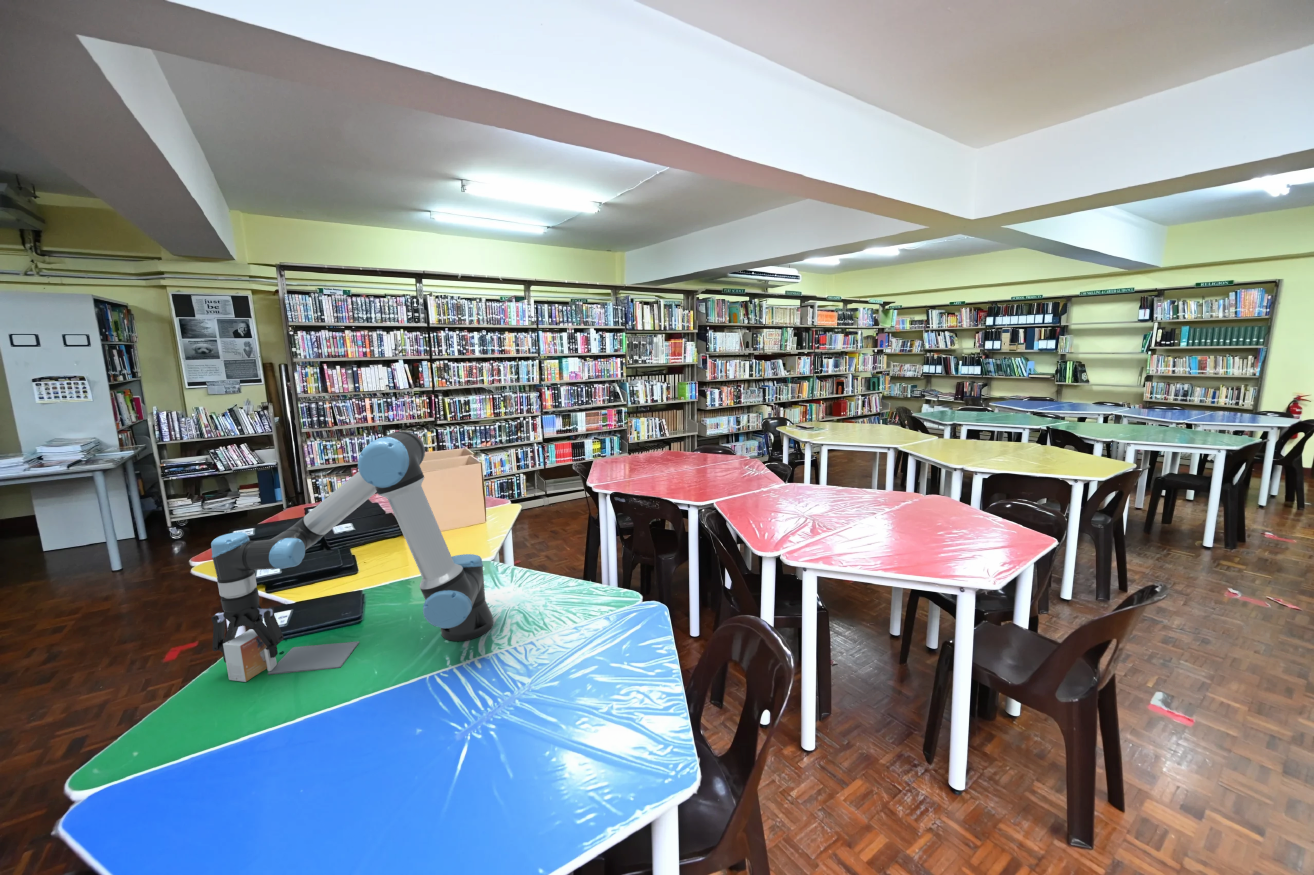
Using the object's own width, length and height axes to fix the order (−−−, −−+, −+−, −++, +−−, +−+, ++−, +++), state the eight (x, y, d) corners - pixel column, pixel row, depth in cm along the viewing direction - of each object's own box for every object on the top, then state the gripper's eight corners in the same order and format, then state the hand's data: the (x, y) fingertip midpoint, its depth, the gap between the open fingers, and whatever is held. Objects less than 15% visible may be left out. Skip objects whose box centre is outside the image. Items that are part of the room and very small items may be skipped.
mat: (359, 642, 148) (359, 641, 148) (340, 667, 136) (340, 666, 136) (293, 648, 145) (292, 647, 145) (267, 674, 134) (267, 673, 133)
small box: (245, 682, 130) (239, 646, 129) (228, 680, 131) (221, 643, 130) (274, 664, 138) (268, 629, 136) (257, 661, 139) (252, 627, 137)
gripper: (291, 581, 136) (304, 657, 140) (204, 588, 133) (219, 665, 137) (275, 594, 129) (288, 674, 133) (182, 602, 126) (199, 683, 130)
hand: (253, 669), depth 135 cm, fingers open, 8 cm apart
